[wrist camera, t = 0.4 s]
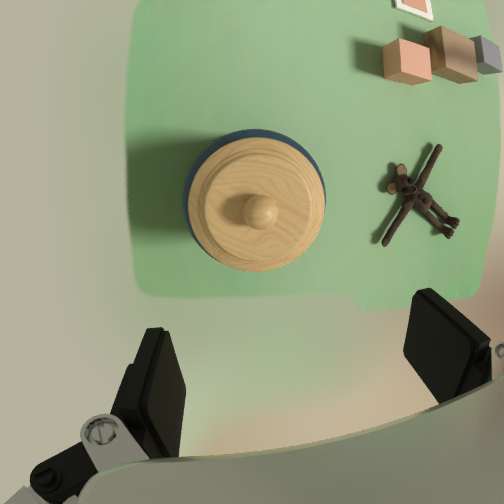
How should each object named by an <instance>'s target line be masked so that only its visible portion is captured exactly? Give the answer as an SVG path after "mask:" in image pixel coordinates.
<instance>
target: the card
mask: <svg viewBox="0 0 504 504" xmlns="http://www.w3.org/2000/svg"><path fill="white" fill-rule="evenodd" d="M394 2H395V9H398V10H401V11H404V12H406V13H409V14H412V15H415V16H417V17H420V18H423V19H425V20H428V21H430V22H433V15H432V9H431V4H430V0H394Z"/></svg>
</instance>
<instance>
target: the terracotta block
mask: <svg viewBox="0 0 504 504" xmlns="http://www.w3.org/2000/svg"><path fill="white" fill-rule="evenodd" d="M382 50H383V69H384V78H386V79H390V80H394V81H398V82H402V83H406V84H409V85H416V84H420V83H424V82H429V81H432V77H431V62H430V51H429V48H427V47H424V46H421V45H419V44H416V43H413V42H410V41H407V40H404V39H401V38H398V39H396V40H394V41H393V42H391V43H389V44H387V45H385V46H384V47H382Z"/></svg>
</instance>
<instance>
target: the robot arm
mask: <svg viewBox="0 0 504 504" xmlns="http://www.w3.org/2000/svg"><path fill="white" fill-rule="evenodd" d="M490 340H491V339H490V338H489V337H488V336H487V335H486V334H484V332H482V331H481V330H480V329H479V328H478V327H477V326H476V325H474V324H473V323H472V322H471V321H470V320H469V319H468V318H466V317H465V316H464V315H463V314H462V313H460V312H459V311H458V310H457V309H456V308H454V307H453V306H452V305H451V304H450V303H449V302H447V301H446V300H445V299H444V298H443V297H441V296H440V295H439V294H438V293H436V292H435V291H434V290H433V289H431V288H426V289H421V290H418V291H417V292H416V293H415V295H413V298H412V304H411V310H410V316H409V323H408V328H407V333H406V338H405V344H404V348H403V352H404V356H405V358H406V359H407V360H408V362H409V363H410V364H411V366H412V367H413V368H414V370H415V371H416V372H417V374H418V375H419V376H420V378H421V379H422V381H423V382H424V383H425V385H426V386H427V387H428V389H429V390H430V392H431V393H432V394H433V396H434V397H435V399H436V400H437V401H438V403H439V405H436V406H434V407H431V408H429V409H426V410H424V411H421V412H418V413H415V414H413V415H410V416H407V417H404V418H401V419H398V420H395V421H392V422H389V423H386V424H383V425H380V426H377V427H373V428H370V429H366V430H362V431H359V432H356V433H351V434H347V435H344V436H339V437H336V438H331V439H326V440H322V441H317V442H312V443H307V444H301V445H296V446H290V447H284V448H278V449H270V450H263V451H254V452H245V453H235V454H224V455H210V456H189V457H179V448H180V438H181V430H182V421H183V413H184V405H185V397H186V386H185V383H184V380H183V376H182V373H181V370H180V367H179V364H178V361H177V357H176V354H175V351H174V347H173V344H172V341H171V337H170V333H169V331H164V329H163V328H162V327H159V328H147V329H146V332H145V334H144V337H143V339H142V342H141V345H140V347H139V350H138V352H137V355H136V358H135V360H134V363H133V364H129V365H128V367H127V369H126V371H125V374H124V377H123V379H122V382H121V385H120V387H119V390H118V393H117V395H116V399H115V401H114V404H113V407H112V409H111V412H110V414H101V415H97V416H94V417H92V418H91V419H89V420H87V421H86V423H85V424H84V425H83V427H82V429H81V432H80V437H81V440H82V441H81V442H79V443H77V444H76V445H74V446H72V447H70V448H68V449H66V450H65V451H63V452H61V453H59V454H57V455H55V456H53V457H51V458H49V459H47V460H46V461H44V462H42V463H40V464H38V465H37V466H36V467H35V468H34V469H33V470H32V473H31V475H30V484H31V485H30V486H29V487H28V488H26V487H25V486H23V487H22V488H21V489H20V490H19V491H17V492H16V493H15V494H14V495H13V496H12V497H11V498H10V499H9V500H8V501H7V502H5V503H4V504H504V341H500V342H496V343H495V344H494V345H493V346H492V348H491V347H490V346H489V343H490Z"/></svg>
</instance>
